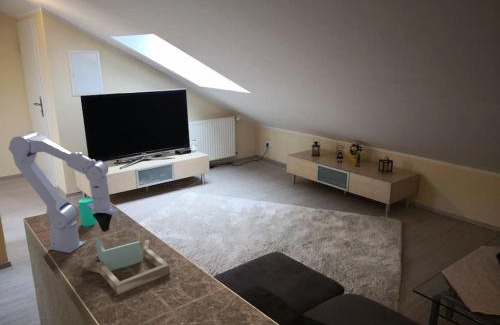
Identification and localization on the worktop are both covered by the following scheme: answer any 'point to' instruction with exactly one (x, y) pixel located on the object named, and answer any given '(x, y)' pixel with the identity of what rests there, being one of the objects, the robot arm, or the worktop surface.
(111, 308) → the worktop surface
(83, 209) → the candle
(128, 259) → the l-shaped corner panel
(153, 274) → the pocket
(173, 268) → the worktop surface
